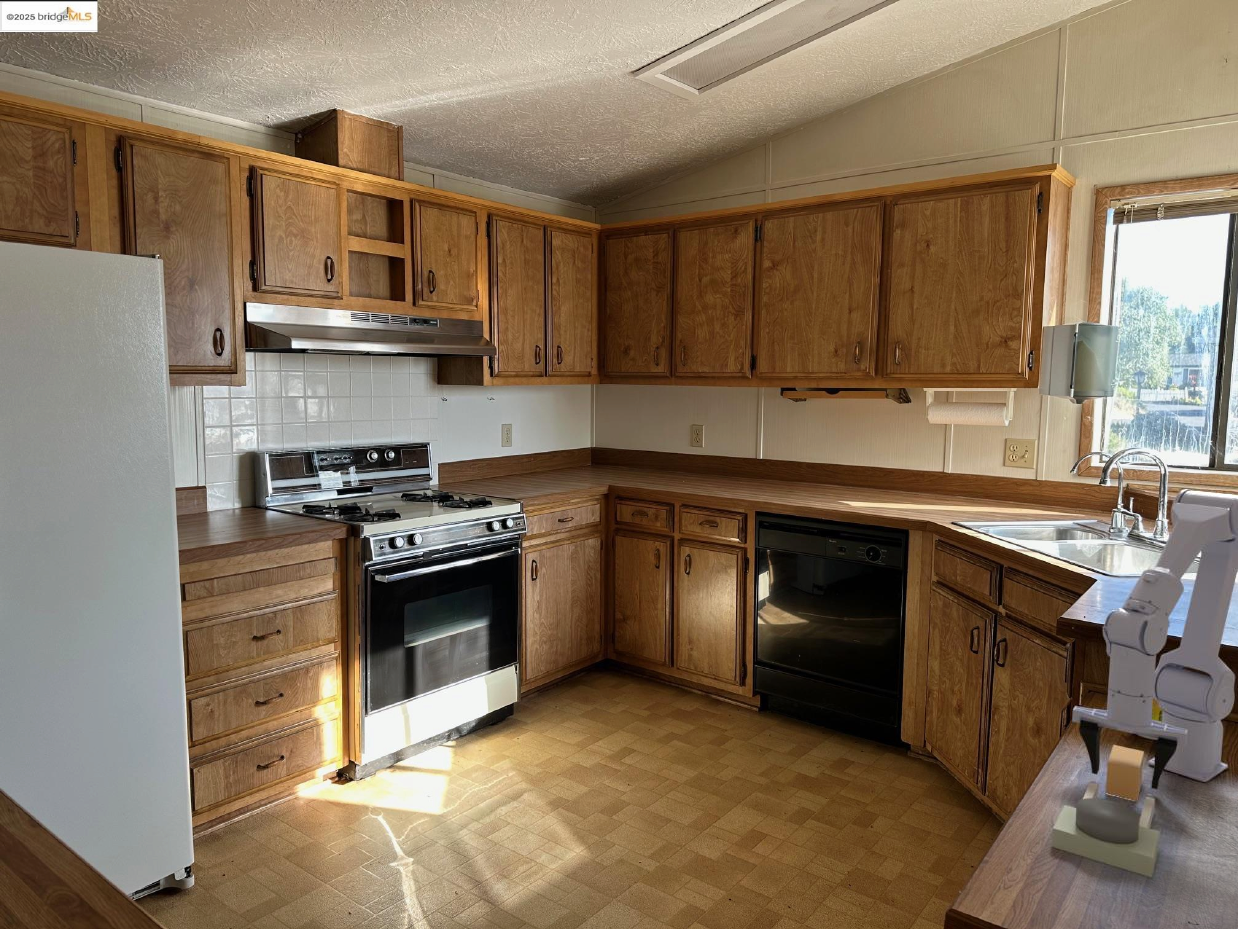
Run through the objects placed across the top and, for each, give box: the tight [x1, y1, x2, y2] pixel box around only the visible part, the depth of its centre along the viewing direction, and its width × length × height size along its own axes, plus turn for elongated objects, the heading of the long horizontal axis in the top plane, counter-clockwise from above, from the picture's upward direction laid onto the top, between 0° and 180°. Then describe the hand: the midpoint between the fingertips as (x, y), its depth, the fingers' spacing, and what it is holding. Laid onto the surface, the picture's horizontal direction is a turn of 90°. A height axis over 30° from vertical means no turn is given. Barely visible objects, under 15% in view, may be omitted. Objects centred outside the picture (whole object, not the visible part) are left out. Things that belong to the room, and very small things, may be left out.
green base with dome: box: [1051, 781, 1161, 878], centre depth 112 cm, size 20×11×5 cm, turn 142°
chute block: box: [1105, 744, 1145, 801], centre depth 125 cm, size 8×4×5 cm, turn 144°
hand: (1124, 779), depth 125 cm, fingers open, 7 cm apart
